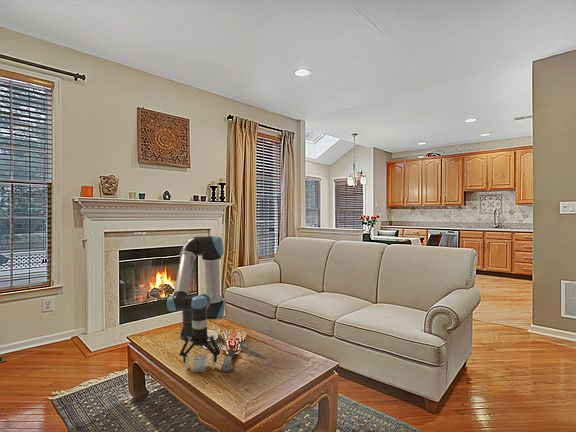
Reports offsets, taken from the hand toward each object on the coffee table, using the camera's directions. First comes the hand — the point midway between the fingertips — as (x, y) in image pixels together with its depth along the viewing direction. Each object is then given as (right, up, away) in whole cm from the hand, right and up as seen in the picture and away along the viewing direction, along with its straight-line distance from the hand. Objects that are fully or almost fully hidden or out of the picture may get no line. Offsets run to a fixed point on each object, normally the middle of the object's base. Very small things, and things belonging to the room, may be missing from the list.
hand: (200, 368), depth 174 cm
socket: (0, 0, 0) cm, 0 cm away
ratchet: (+14, 0, +6) cm, 15 cm away
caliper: (+24, 0, +16) cm, 29 cm away
